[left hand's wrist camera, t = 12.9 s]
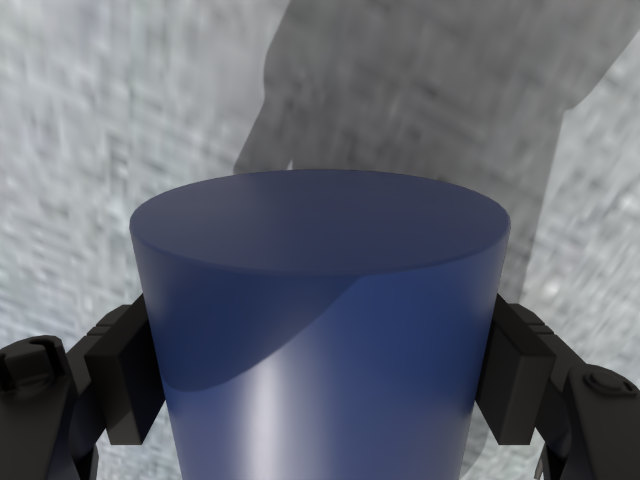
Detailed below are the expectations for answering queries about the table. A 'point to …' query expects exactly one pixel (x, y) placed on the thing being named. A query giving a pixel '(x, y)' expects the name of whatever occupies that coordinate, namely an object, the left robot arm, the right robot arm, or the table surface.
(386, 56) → the table surface
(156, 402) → the left robot arm
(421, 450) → the rod
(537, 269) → the table surface
